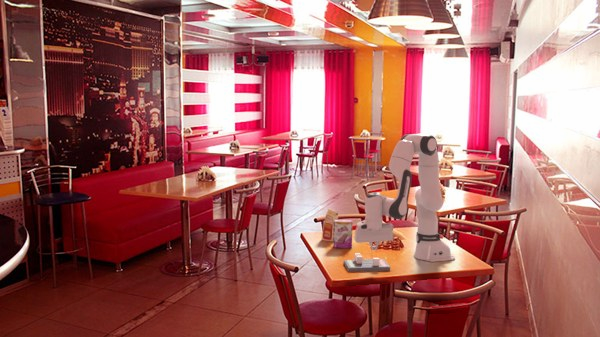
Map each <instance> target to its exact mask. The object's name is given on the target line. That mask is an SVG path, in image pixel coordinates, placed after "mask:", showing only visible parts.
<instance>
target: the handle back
mask: <svg viewBox="0 0 600 337" xmlns="http://www.w3.org/2000/svg"><path fill="white" fill-rule="evenodd" d="M353 254H354V256H353V257H354V258H353V260H355V261H356V256H362V254H361V253H360V252H356V253H353Z"/></svg>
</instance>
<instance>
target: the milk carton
mask: <svg viewBox="0 0 600 337" xmlns="http://www.w3.org/2000/svg"><path fill="white" fill-rule="evenodd" d="M327 210H328V211H327V212H326V214H325V217H324V222H323V226H322V227H323V228H322V234H321V235H322V236H321V240H322V241H326V242H334V220H339V211H336V210H333V209H331V208H329V207H328V208H327Z"/></svg>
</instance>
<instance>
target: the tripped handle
mask: <svg viewBox="0 0 600 337" xmlns="http://www.w3.org/2000/svg"><path fill="white" fill-rule="evenodd" d="M372 259H373V265H374V266H379V261H380V259H381V258H379V257H372Z"/></svg>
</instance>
